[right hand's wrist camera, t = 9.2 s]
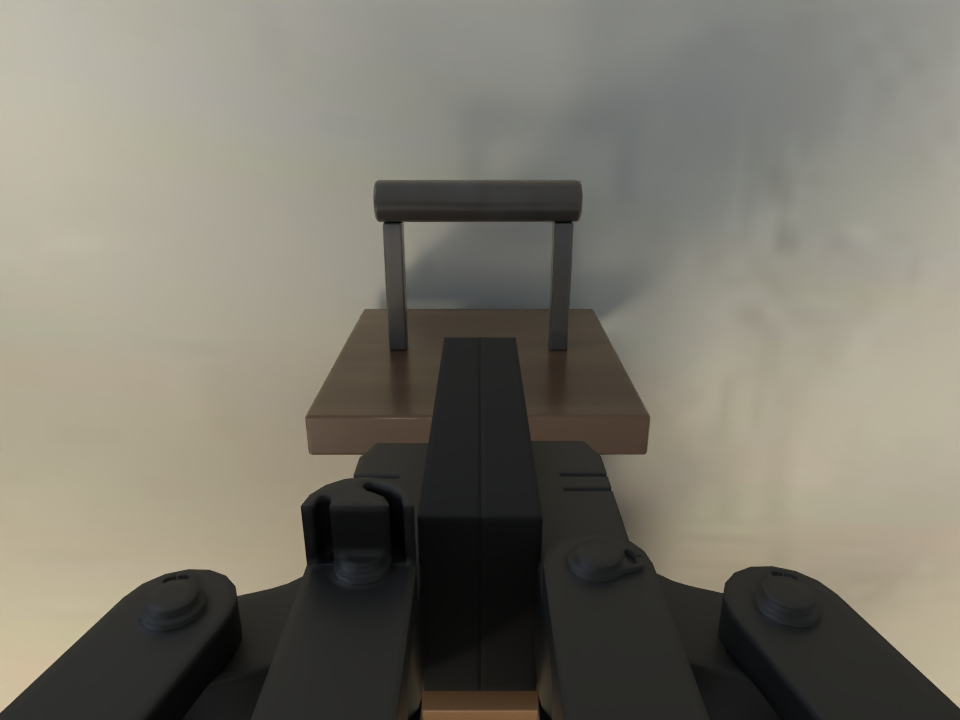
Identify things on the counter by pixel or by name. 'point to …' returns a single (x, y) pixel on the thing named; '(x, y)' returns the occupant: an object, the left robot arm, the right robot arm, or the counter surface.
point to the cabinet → (480, 705)
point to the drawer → (477, 335)
